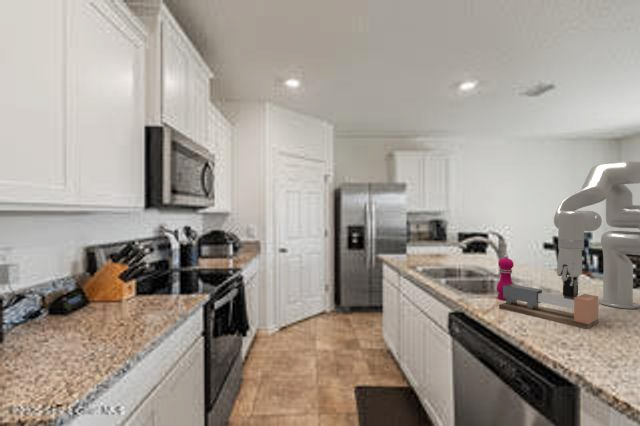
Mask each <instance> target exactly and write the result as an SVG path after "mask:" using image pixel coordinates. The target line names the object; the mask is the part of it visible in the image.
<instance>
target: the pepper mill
mask: <svg viewBox="0 0 640 426" xmlns="http://www.w3.org/2000/svg"><path fill="white" fill-rule="evenodd" d="M514 265H515V264H514V261H513V260H512V259H511V258H509V256H508V255H507V254H504V255H503V257H502V258H500V259H499V260H498V267H499V273H500V278H499V281H498V283H497V286H496V291H497V292H498V294H497V299H498V300H501V301H506V298H504V297H503V285H507V284H513V285H514V283H513V281H512V273H513V269H512V268H513V267H514Z"/></svg>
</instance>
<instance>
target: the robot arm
mask: <svg viewBox="0 0 640 426" xmlns="http://www.w3.org/2000/svg"><path fill="white" fill-rule="evenodd" d="M633 184H635V185H636V184H640V161H629V160H628V161H627V160H626V161H625V160H624V161H614V162H613V161H612V162H604V163H598V164H595V165H593V166H592V167H591V169H590V170H589V172H588V174H587V176H586V178H585V181H584V183H583V184H582V187H581V189H579V190H578V191H575V192H573V193H572V194H570V195H569V196H567V197H566V198H564V199H563V200H562V201H561V202H560V204H559V205H558V207H557V209H556V211H555V214H554V216H553V223H554V226H555V227H556V228H557V229H558V236H557V237H558V238H557V239H558V240H557V241H558V242H557V243H558V244H557V245H558V246H557V247H558V248H557V249H558V256H557V266H556V268H557V269H556V275H557V276H559V277H560V278H561V280H562V296H567V297H574V286H573V279H576V280H577V297H578V296H579V278H580V276H582V274H583V255H582V253H583V252H582V251H585V232H594V231H597V230H598V229H599V228H600V227H601V225H602V223H603V222H602V221H603V220H602V217H601V215H600V214H599V213H598V212H596V211H593V210H580V209H582V208H586V207H589V206H592V205H596V204H600V203H601V202H604V201H605V221H606V224H607V226H609V227H611V228H620V229H638V230H640V204H637V205H636V204H633V192H632V191H631V189H630V188H629V187H628V186H627V185H633ZM600 243H601V244H600V245H601V250H602V255H603V257H602V258H603V275H602V276H603V277H602V279H603V280H602V284H603V286H602V298H598V304H599V305H600V304H601V305H603V306H607V307H612V308H619V309H628V310H631V309H632V310H634V309H638V304H637V303H635V302H633V301H634V299H633V298H634V297H633V296H634V291H633V290H634V264H633V261H632V260H631V259H630V258H629V256H627V255H633V256H640V231H627V230H610V231H606V232H604V233H603V234H602V235H601V237H600ZM569 279H570V280H569Z"/></svg>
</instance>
